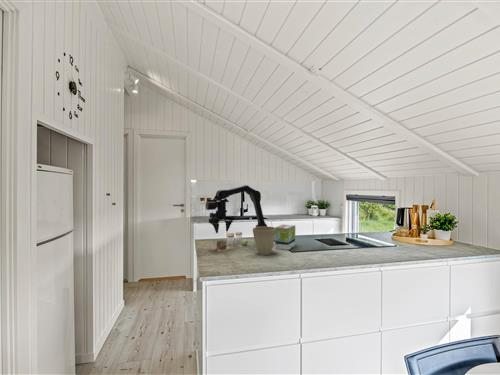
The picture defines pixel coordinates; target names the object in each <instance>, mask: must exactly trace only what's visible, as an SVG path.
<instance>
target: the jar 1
mask: <svg viewBox="0 0 500 375" xmlns="http://www.w3.org/2000/svg"><path fill="white" fill-rule="evenodd" d="M226 238H227V240H226V246H231V247H234V245H235V234H234V235H233V234H229V235H228V234H227V235H226Z"/></svg>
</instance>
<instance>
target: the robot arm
mask: <svg viewBox="0 0 500 375" xmlns="http://www.w3.org/2000/svg"><path fill="white" fill-rule="evenodd" d="M244 192H245V193H246V194H247V195H248V196H249V198H250V200H251V202H252V204H253V207H254V210H255V215H256V220H257V224H255V227H268V225H267V222H265V217H264V213H263V209H262V204H261V199H262V195H261V194H262V193H261V192H260V191H259V190H256V189H254V188H252V187H250V186H249V185H241V186H238V187H234V188H230V189H219V190H217V191H216V194H215V195H214V198H212V199H206V202H205V209H206V211H211V210H214V211H215V212H209V219H208V224H210V225H212V227H213V229H214V231H215V234H218V233H219V229H220V223H219V222H222V221H224V223H225V231H226V232H228V231H229V229H230V228H231V225H232V223H233V222H234V221H235V216H234V215H227V212H228V210H227V207H226V205H227V203H229V202H230V201H229V200H228V199H227V198H229V197H230V196H233V195H236V194H237V195H238V194H239V193H244ZM216 209H217V210H216Z"/></svg>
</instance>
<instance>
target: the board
mask: <svg viewBox="0 0 500 375" xmlns="http://www.w3.org/2000/svg"><path fill="white" fill-rule="evenodd" d="M235 249H236V247H231V246H227V245H226V249H223V250H219V249H217V246H216V247H213V248H211V250H212V251H216V252H220V253H224V252H228V251H231V250H235Z"/></svg>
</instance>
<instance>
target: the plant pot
mask: <svg viewBox="0 0 500 375" xmlns="http://www.w3.org/2000/svg"><path fill="white" fill-rule="evenodd" d="M275 233H276V228H275V227H274V226H267V227H256V226H255V227H253V228H252V234H253V239H254V242H255V246H256V248H257V252H258V254H259V255H263V256H265V255H271V254H272V252H273V251H272V250H273V247H274V245H275Z"/></svg>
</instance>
